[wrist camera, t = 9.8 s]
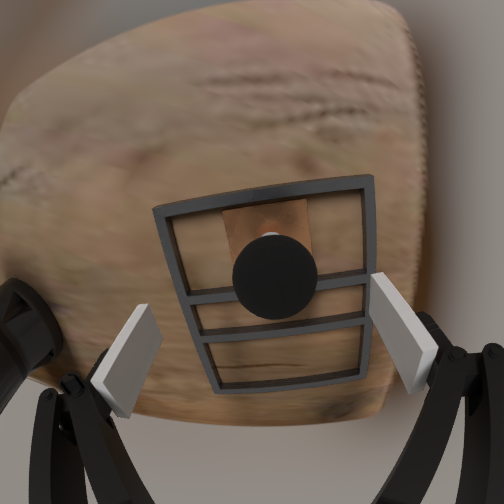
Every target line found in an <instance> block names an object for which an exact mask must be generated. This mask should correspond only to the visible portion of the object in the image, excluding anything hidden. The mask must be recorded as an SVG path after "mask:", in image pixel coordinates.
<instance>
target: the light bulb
mask: <svg viewBox="0 0 504 504" xmlns="http://www.w3.org/2000/svg"><path fill="white" fill-rule="evenodd" d="M317 278H318V275H317V268H316V264H315V261H314V259H313V257H312V255H311V253H310V252H309V251H308V250H307V249H306V248H305V247H304V246H303V245H302V244H301V243H300V242H298V241H297V240H295V239H293V238H291V237H288V236H284V235H280V234H278V233H276V232H268V233H265V234H264V235H262V236H261V237H259V238H257V239H255V240H253V241H251V242H250V243H249V244H247V245H246V246H245V247H244V248H243V250H242V251H241V252H240V254H239V255H238V257H237V259H236V261H235V264H234V267H233V276H232V281H233V287H234V290H235V293H236V295H237V298H238V299H239V301H240V302H241V304H242V305H243V306H244V307H245V308H246V309H247V310H249V311H250V312H251V313H253V314H255V315H256V316H258V317H262V318H265V319H271V320H274V319H284V318H288V317H291V316H293V315H295V314H297V313H298V312H300V311H301V310H302V309H303V308H304V307H305V306H306V305H307V304H308V303H309V301H310V300H311V299H312V297H313V295H314V293H315V290H316V286H317Z"/></svg>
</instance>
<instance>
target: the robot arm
mask: <svg viewBox="0 0 504 504" xmlns="http://www.w3.org/2000/svg"><path fill="white" fill-rule="evenodd" d="M369 315H370V317H371V319H372V321H373V322H374V324H375V326H376V328H377V330H378V332H379V334H380V336H381V338H382V340H383V342H384V344H385V346H386V348H387V350H388V352H389V354H390V356H391V358H392V360H393V362H394V364H395V366H396V368H397V370H398V372H399V374H400V376H401V378H402V381H403V383H404V385H405V387H406V389H407V392H408V394H409V395H410V394H413V393H416V392H419V391H422V390H424V387H425V384H426V382H427V384H428V386H429V387H430V389H429V391H428V394H427V396H426V398H425V400H424V405H423V407H422V410H421V412H420V414H419V417H418V419H417V421H416V424H415V426H414V429H413V431H412V433H411V435H410V437H409V439H408V441H407V443H406V445H405V447H404V449H403V451H402V453H401V455H400V457H399V459H398V461H397V462H396V464H395V466H394V468H393V470H392V471H391V473H390V475H389V477H388V478H387V480H386V482H385V483H384V485H383V486H382V488H381V490H380V491H379V493H378V494H377V496H376V497H375V499H374V500H373V502H372V503H371V504H420V503H421V501H422V499H423V497H424V496H425V494H426V492H427V490H428V487H429V485H430V483H431V481H432V479H433V477H434V475H435V472H436V470H437V468H438V466H439V463H440V461H441V458H442V456H443V453H444V451H445V448H446V445H447V443H448V440H449V437H450V434H451V431H452V428H453V425H454V421H455V418H456V415H457V411H458V408H459V404H460V400H461V397H464V396H465V432H464V449H463V459H462V468H461V475H460V482H459V488H458V493H457V498H456V503H455V504H504V348H503V347H502V346H501V345H499V344H496V343H489V344H487V345H485V346H484V348H483V350H482V352H481V353H467V351H465V350H464V349H463V348H460V347H458V346H453V345H452V344H451V342H450V341H449V340H448V338H447V337H446V336H445V334H444V333H443V332H442V331H441V329H439V326H438V325H437V324H436V323H435V321H434V320H433V318H432V317H431V316H430V315H428V314H427V313H425V312H423V311H421V312H418V313H414V312H413V310H412V309H411V308H410V306H409V305H408V304H407V302H406V301H405V300H404V298H403V297H402V296H401V294H400V293H399V292H398V291H397V289H396V288H395V287H394V286H393V284H392V283H391V282H390V280H389V279H388V278H387V277H386V276H385V274H384V273H383V272H381V273H376V274H371V284H370V304H369ZM162 340H163V337H162V335H161V332H160V330H159V328H158V325H157V323H156V321H155V318H154V316H153V313H152V311H151V308H150V306H149V304H139V305H138V306H137V307H136V309H135V310H134V312H133V313H132V315H131V316H130V318H129V319H128V321H127V322H126V324H125V325H124V327H123V328H122V330H121V332H120V333H119V335H118V336H117V338H116V339H115V341H114V343H113V344H112V346H111V347H110V349H108V348H107V349H106V350H105V351H104V352H103V353H102V354H101V355H100V356H99V358H98V360H97V362H96V363H95V364H94V367H93V368H92V369H91V371H90V372H89V374H88V376H87V377H86V379H85V381H83V379H82V378H81V376H80V375H79V374H78V373H77V372H68V373H66V374H65V375H63V376H62V377H61V379H60V381H59V386H60V388H61V389H62V390H63V392H64V393H65V394H59V393H58V392H57V391H56V390H55V389H54V388H48V389H46V390H44V391H43V392H42V393H41V395H40V396H39V400H38V405H37V411H36V416H35V422H34V428H33V436H32V444H31V454H30V468H29V504H88V501H87V494H86V485H85V473H84V467H85V470H86V473H87V476H88V479H89V482H90V484H91V487H92V490H93V492H94V495H95V497H96V500H97V502H98V504H155V503H154V501H153V500H152V498H151V496H150V494H149V493H148V491H147V489H146V488H145V486H144V484H143V482H142V481H141V479H140V477H139V475H138V473H137V471H136V469H135V467H134V465H133V463H132V462H131V460H130V457H129V455H128V453H127V451H126V449H125V447H124V445H123V442H122V440H121V438H120V436H119V433H118V431H117V429H116V426H115V424H114V422H113V419H112V418H111V416H110V413H111V411H113V412H114V413H115V415H116V416H117V417H121V418H128V419H129V418H130V416H131V413H132V411H133V408H134V406H135V403H136V401H137V399H138V396H139V394H140V391H141V389H142V386H143V384H144V382H145V379H146V377H147V375H148V372H149V370H150V368H151V365H152V363H153V361H154V358H155V356H156V354H157V351H158V349H159V347H160V345H161V342H162ZM62 347H63V340H62V335H61V332H60V329H59V326H58V324H57V322H56V320H55V318H54V316H53V315H52V313H51V311H50V310H49V308H48V307H47V305H46V304H45V303H44V301H43V300H42V299H41V298H40V296H39V295H38V294H37V293H36V292H35V291H34V290H33V289H32V288H31V287H30V286H28V285H27V284H26V283H24V282H22V281H20V280H18V279H9V280H7V281H6V282H4V283H3V284H2V285H1V286H0V414H1V413H2V411H3V410H4V408H5V407H6V405H7V404H8V402H9V401H10V400H11V398H12V397H13V395H14V394H15V392H16V391H17V390H18V388H19V387H20V385H21V384H22V383H23V381H24V380H25V379H26V377H27V376H28V375H29V374H30V373H32V372H34V371H36V370H37V369H39V368H41V367H43V366H45V365H46V364H48V363H50V362H52V361H53V360H54V359H55V358H56V357H57V356H58V354H59V353H60V352H61V350H62ZM59 425H60V427H59Z"/></svg>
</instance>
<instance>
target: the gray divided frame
mask: <svg viewBox="0 0 504 504" xmlns="http://www.w3.org/2000/svg"><path fill="white" fill-rule="evenodd" d="M358 188H360V191H361V206H362V226H363V269H358V270H351V271H345V272H338V273H331V274H324V275H318V278H317V286H316V290H315V291H317V290H324V289H331V288H338V287H344V286H351V285H357V284H363V301H362V311H358V312H352V313H346V314H340V315H333V316H327V317H320V318H313V319H306V320H298V321H290V322H282V323H273V324H264V325H254V326H244V327H232V328H220V329H205V330H202V327H201V324H200V321H199V318H198V315H197V312H196V309H195V306H194V304H205V303H216V302H226V301H236V300H239V299H238V298H237V295H236V293H235V290H234V287H233V286H230V287H221V288H212V289H202V290H193V291H190V289H189V286H188V283H187V279H186V276H185V273H184V269H183V266H182V262H181V259H180V255H179V252H178V248H177V244H176V240H175V237H174V233H173V229H172V225H171V221H170V217H169V216H173V215H178V214H184V213H189V212H195V211H200V210H206V209H211V208H217V207H223V206H229V205H235V204H242V203H248V202H255V201H261V200H268V199H275V198H282V197H290V196H297V195H305V194H313V193H321V192H330V191H339V190H348V189H358ZM152 210H153V214H154V218H155V222H156V226H157V229H158V233H159V237H160V240H161V244H162V247H163V251H164V254H165V258H166V261H167V264H168V268H169V271H170V274H171V277H172V280H173V284H174V287H175V290H176V293H177V296H178V299H179V302H180V305H181V308H182V311H183V314H184V316H185V319H186V322H187V325H188V328H189V330H190V333H191V336H192V339H193V341H194V344H195V347H196V349H197V352H198V354H199V357H200V359H201V362H202V364H203V367H204V369H205V372H206V374H207V377H208V379H209V382H210V384H211V386H212V389H213V391H214V393H215V394H241V393H260V392H273V391H284V390H294V389H303V388H311V387H318V386H325V385H331V384H337V383H343V382H348V381H354V380H359V379H364V378H366V375H367V368H368V361H369V354H370V346H371V337H372V327H373V321H372V319H371V317H370V315H369V304H370V284H371V274H376V204H375V187H374V176H373V175H370V174H364V175H353V176H342V177H333V178H323V179H315V180H306V181H298V182H291V183H283V184H276V185H269V186H262V187H256V188H249V189H243V190H237V191H231V192H225V193H219V194H214V195H208V196H203V197H198V198H192V199H187V200H182V201H177V202H173V203H168V204H163V205H158V206H156V207H154V208H153V209H152ZM222 214H223V219H224V224H225V228H226V233H227V238H228V243H229V247H230V252H231V257H232V262H233V266H234V264H235V261H236V259H237V257H238V255H239V254H240V252H241V251H242V250H243V248H244V247H245V246H246V245H247V244H249V243H250V242H251V241H253V240H255V239H257V238H259V237H261V236H262V235H264V234H265V233H268V232H276V233H278V234H280V235H284V236H288V237H291V238H293V239H295V240H297V241H298V242H300V243H301V244H302V245H303V246H304V247H305V248H306V249H307V250H308V251H309V252H310V253H311V255H312V249H311V239H310V229H309V220H308V211H307V203H306V198H305V199H297V200H289V201H282V202H275V203H268V204H261V205H254V206H248V207H241V208H235V209H229V210H223V211H222ZM357 325H361V336H360V348H359V358H358V368H356V369H351V370H345V371H339V372H333V373H327V374H321V375H313V376H306V377H298V378H289V379H279V380H268V381H254V382H236V383H221V381H220V378H219V375H218V373H217V370H216V367H215V364H214V362H213V359H212V356H211V353H210V350H209V348H208V345H207V343H211V342H227V341H241V340H253V339H263V338H273V337H282V336H291V335H299V334H306V333H314V332H321V331H327V330H334V329H340V328H346V327H352V326H357Z"/></svg>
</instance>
